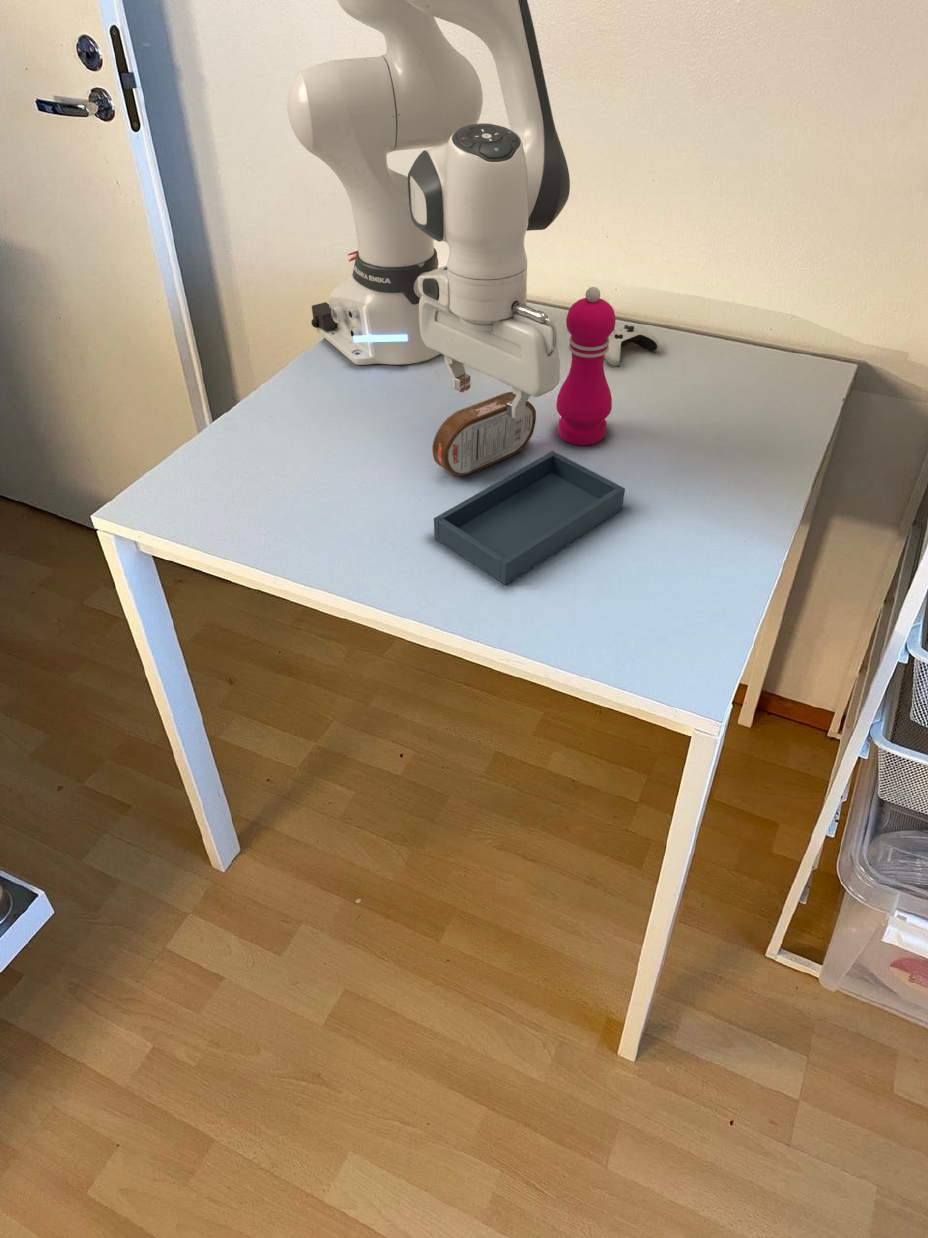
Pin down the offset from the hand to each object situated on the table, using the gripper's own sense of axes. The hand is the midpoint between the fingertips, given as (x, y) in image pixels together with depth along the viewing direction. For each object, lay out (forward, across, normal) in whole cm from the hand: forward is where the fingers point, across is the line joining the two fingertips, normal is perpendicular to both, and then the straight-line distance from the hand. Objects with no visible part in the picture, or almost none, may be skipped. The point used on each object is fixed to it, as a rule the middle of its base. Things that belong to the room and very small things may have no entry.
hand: (487, 402), depth 111 cm
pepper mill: (+9, -3, -14) cm, 17 cm away
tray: (+9, -12, +5) cm, 16 cm away
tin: (+9, +1, 0) cm, 9 cm away
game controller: (+9, +8, -36) cm, 38 cm away
